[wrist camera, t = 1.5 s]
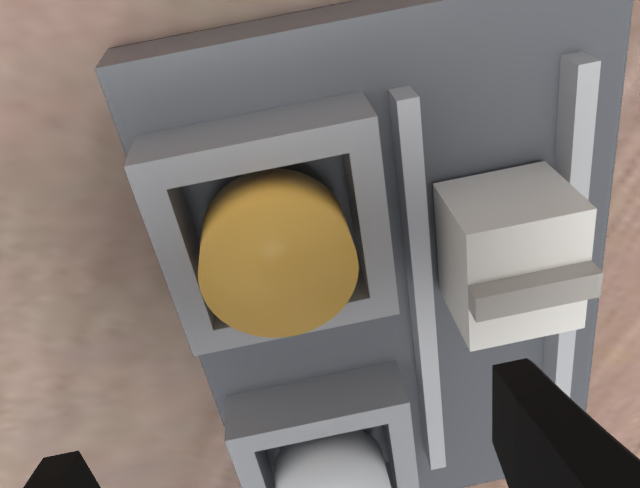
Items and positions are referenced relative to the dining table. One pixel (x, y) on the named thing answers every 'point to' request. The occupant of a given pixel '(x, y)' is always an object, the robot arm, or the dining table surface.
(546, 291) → the slider knob
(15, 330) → the dining table surface
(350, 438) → the grey button
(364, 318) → the control panel
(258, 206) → the amber button
